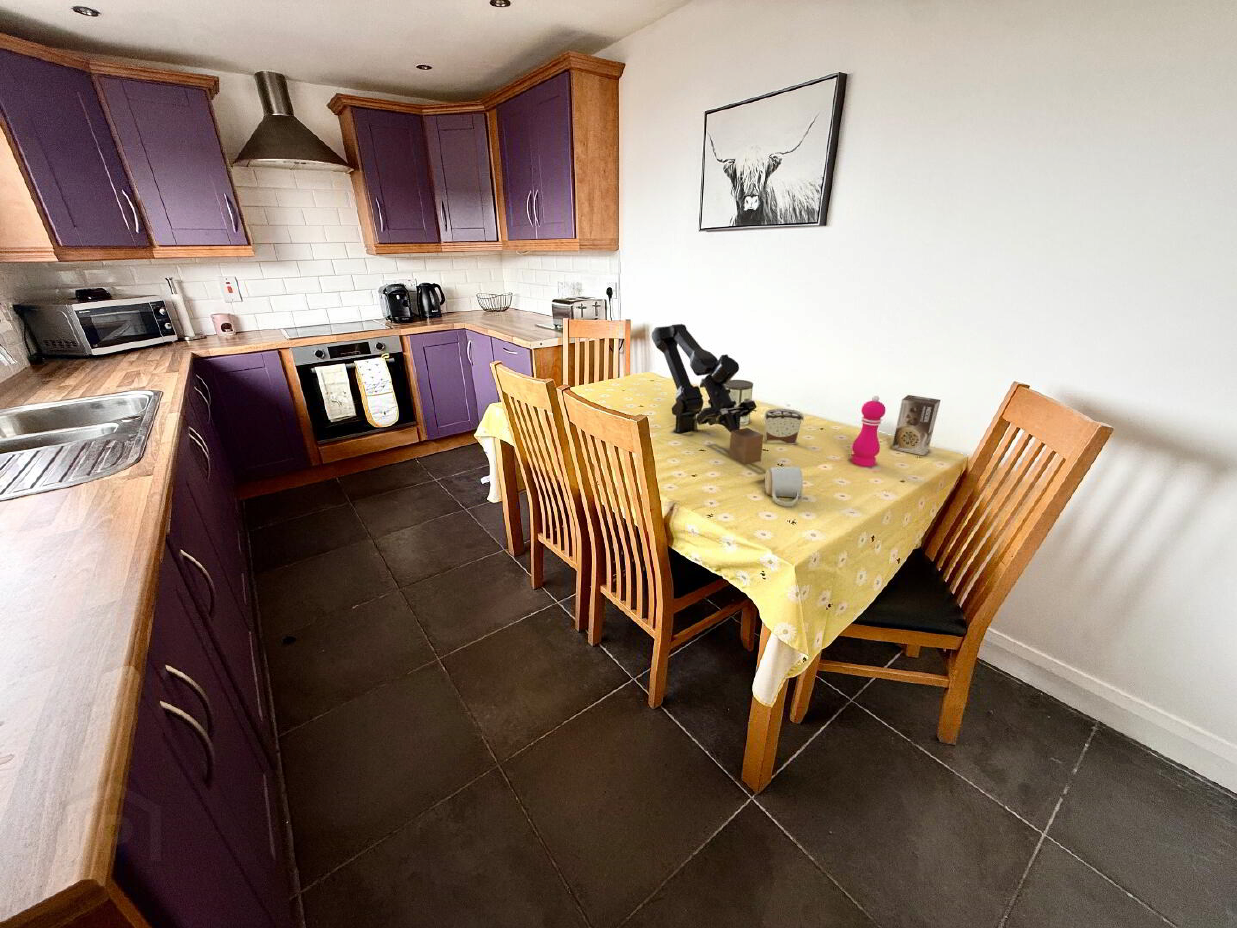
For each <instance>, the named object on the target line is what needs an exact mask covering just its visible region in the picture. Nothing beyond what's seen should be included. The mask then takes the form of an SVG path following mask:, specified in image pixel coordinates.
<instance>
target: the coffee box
mask: <svg viewBox="0 0 1237 928" xmlns="http://www.w3.org/2000/svg"><path fill="white" fill-rule="evenodd" d="M940 404H941V399H938V398H933V397H925V396H920V395H919V396H918V395H913V394H912V395H911V394H907V395H906V396H905V397H904V398H901V404H900V408H899V413H898V417H897V423H896V426H895V431H894V436H893V441H892V445H891V450H896V451H901V452H905V453H909V454H910V453H911V454H915V455H920V456H925V455H926V454H927V453H928V452H929V449H930V445H931V440H932V437H933V433H934V432H933V431H934V429H935V424H936V421H937V416H938V412H939V409H940Z"/></svg>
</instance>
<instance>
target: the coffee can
mask: <svg viewBox="0 0 1237 928" xmlns="http://www.w3.org/2000/svg"><path fill="white" fill-rule="evenodd" d="M724 385H725V387H726V389H730V391H731V392H730V393H729V395H730V397H731V400H732V401H736V405H735V406H734V407H738V406H739V405H740V404H741V403H742V402H744V401H749V400H752V398H753V388H754V383H753V382H752V381H749V380H744V379H731V380H730V381H729V382H728V383H726V384H724ZM750 421H751V413H750V414H749V415H748V416H745V417H741V418H740V424H742V425H744V426H745V425H748V424H750Z"/></svg>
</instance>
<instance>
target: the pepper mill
mask: <svg viewBox="0 0 1237 928" xmlns="http://www.w3.org/2000/svg"><path fill="white" fill-rule="evenodd" d="M860 412H861V414H862V415H863V416H862V417H861V421H860V422H861V424H862V426H861V430H860V432H859V433H858V436H857V437H856V438H855V440H853V443H852V446H851V451H852V452H853V454H852V455H851V462H852V463H853V464H854V465H857V466H860V467H873V466H875V465H876V461H877V458H876V456H877V455H879V453H880V450H881V446H880V442H879V438H878V428H879V426H880V425H881V424H882V418H883V417H884V416H885V414H886V406H885V404H884V403H882V401H881V402H880V397H879V396H878V395H874V396H872V398H871V400H869V401H866V402H865V403H864V404H863V405H862V407H861V411H860Z"/></svg>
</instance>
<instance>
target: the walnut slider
mask: <svg viewBox="0 0 1237 928" xmlns="http://www.w3.org/2000/svg"><path fill="white" fill-rule="evenodd" d="M764 435H765V434H763V433H761V432H758V431H756V430H754V429H751V428H749V427H743V428H740V429H738V430H733V431H731V433H730V440H729V452H728V457H729V458H731V459H733V460H735V461H737V462H739V463H741V464H743V465H744V466H745V465H750V464H753V463H757V462H761V461H762V452H763V444H764Z"/></svg>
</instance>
